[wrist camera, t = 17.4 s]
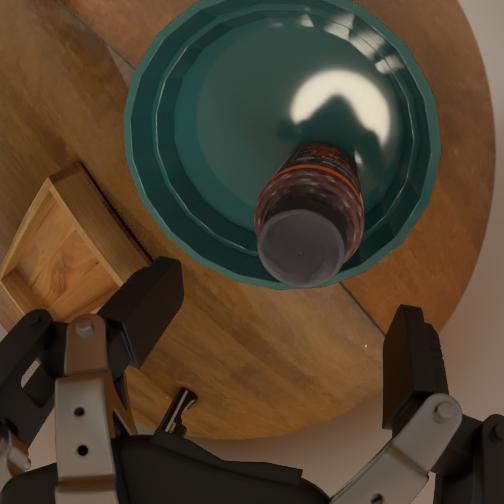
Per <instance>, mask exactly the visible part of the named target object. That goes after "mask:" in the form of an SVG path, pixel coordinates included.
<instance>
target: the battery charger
mask: <svg viewBox="0 0 504 504" xmlns="http://www.w3.org/2000/svg"><path fill="white" fill-rule="evenodd" d="M196 400H197V397H196V396H195V395H194V394H192V393H190V392H188V390H185V389H181V390H180V392H179V393H178V394H177V396H176V397H175V398H174V399H173V401H172V403H171V405H170V407H169V408H168V410H167V412H166V414H165V416H164V418H163V420H162V422H161V423H160V425H159V427H158V428H159V429H161V430H164V431H167V432H169V433H172V434H174V435H177V436H180V437H182V438H183V437H184V435H185V433H186V431H187V428H186V427H185V426H183V425H182V424H181V423H182V420H181V413H182V411H183V410H186V409H189V408H190V407H191V406H192V405H193V404H194V403H195V402H196Z"/></svg>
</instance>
